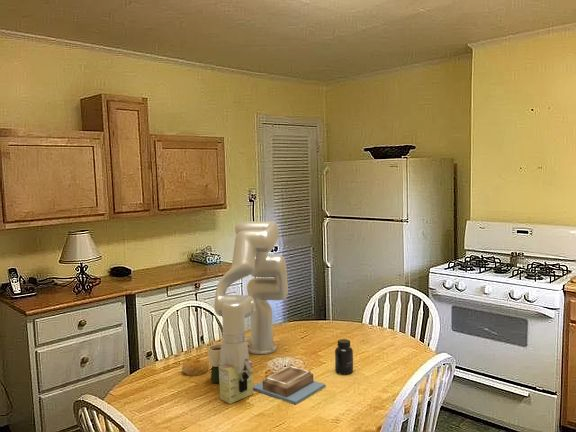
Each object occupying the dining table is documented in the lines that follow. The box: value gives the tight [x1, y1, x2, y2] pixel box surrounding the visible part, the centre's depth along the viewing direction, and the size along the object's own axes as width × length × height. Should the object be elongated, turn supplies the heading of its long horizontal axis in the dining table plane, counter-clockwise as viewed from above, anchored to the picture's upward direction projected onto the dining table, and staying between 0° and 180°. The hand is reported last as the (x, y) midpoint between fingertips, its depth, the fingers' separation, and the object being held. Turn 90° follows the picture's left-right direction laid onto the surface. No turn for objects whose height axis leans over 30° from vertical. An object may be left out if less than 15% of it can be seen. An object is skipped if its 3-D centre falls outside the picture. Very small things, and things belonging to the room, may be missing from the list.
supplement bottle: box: [334, 338, 354, 375], centre depth 191 cm, size 7×7×12 cm
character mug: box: [207, 343, 221, 383], centre depth 185 cm, size 11×7×13 cm, turn 31°
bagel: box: [181, 358, 210, 377], centre depth 196 cm, size 10×11×5 cm
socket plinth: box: [262, 365, 315, 397], centre depth 177 cm, size 11×15×4 cm
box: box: [218, 359, 254, 405], centre depth 171 cm, size 10×6×12 cm, turn 135°
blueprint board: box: [253, 380, 326, 406], centre depth 178 cm, size 20×17×1 cm
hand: (236, 388), depth 172 cm, fingers closed on box, 6 cm apart
